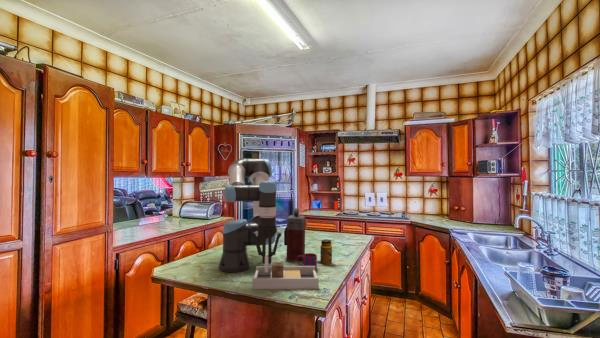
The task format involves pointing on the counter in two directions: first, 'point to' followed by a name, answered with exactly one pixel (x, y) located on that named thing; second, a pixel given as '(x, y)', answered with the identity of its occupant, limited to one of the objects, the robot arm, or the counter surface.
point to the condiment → (326, 253)
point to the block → (277, 269)
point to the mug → (309, 260)
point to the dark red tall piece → (295, 236)
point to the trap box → (286, 278)
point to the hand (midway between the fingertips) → (266, 271)
